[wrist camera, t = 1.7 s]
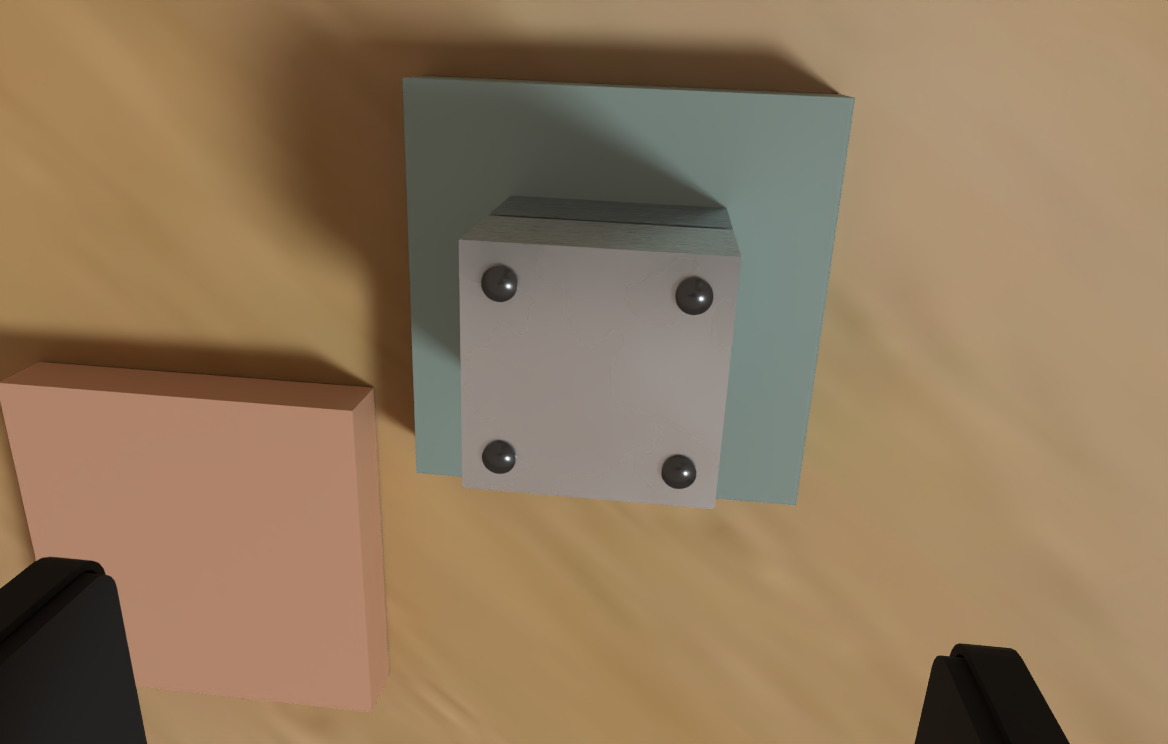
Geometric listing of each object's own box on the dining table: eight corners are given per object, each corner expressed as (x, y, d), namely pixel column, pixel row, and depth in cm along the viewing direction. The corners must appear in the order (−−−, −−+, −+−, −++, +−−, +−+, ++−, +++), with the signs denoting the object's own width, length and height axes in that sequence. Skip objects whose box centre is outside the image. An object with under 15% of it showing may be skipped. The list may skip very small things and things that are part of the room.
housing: (510, 195, 24) (457, 240, 18) (726, 207, 23) (741, 258, 18) (509, 393, 26) (461, 489, 20) (706, 408, 25) (714, 511, 20)
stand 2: (423, 75, 25) (402, 77, 23) (841, 94, 24) (855, 98, 22) (433, 446, 29) (416, 472, 27) (788, 475, 28) (795, 505, 26)
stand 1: (39, 361, 30) (-4, 382, 28) (373, 387, 29) (352, 411, 27) (96, 644, 34) (62, 678, 32) (389, 674, 33) (372, 712, 31)
